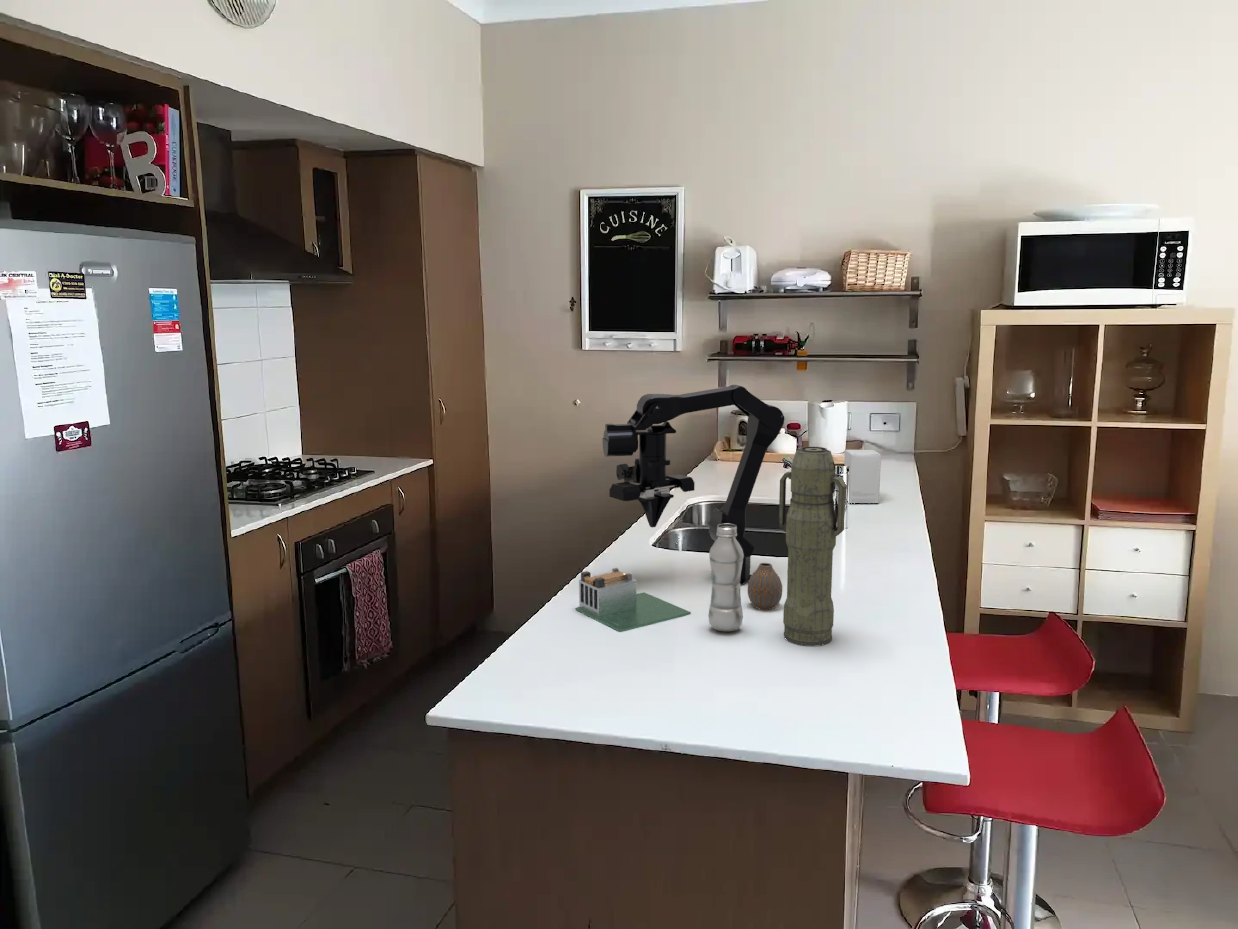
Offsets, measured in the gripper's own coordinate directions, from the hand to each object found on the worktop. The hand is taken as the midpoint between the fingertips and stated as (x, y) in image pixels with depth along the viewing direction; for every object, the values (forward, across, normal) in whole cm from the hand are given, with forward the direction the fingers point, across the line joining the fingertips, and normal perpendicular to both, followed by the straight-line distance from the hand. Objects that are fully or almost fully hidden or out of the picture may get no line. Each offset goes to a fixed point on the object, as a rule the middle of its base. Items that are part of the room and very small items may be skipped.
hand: (652, 526), depth 205 cm
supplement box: (+13, -100, -29) cm, 105 cm away
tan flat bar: (+7, +17, +7) cm, 19 cm away
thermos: (+13, -4, +42) cm, 44 cm away
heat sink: (+13, +13, +11) cm, 22 cm away
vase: (+13, -10, +24) cm, 29 cm away
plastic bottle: (+13, +5, +30) cm, 33 cm away
